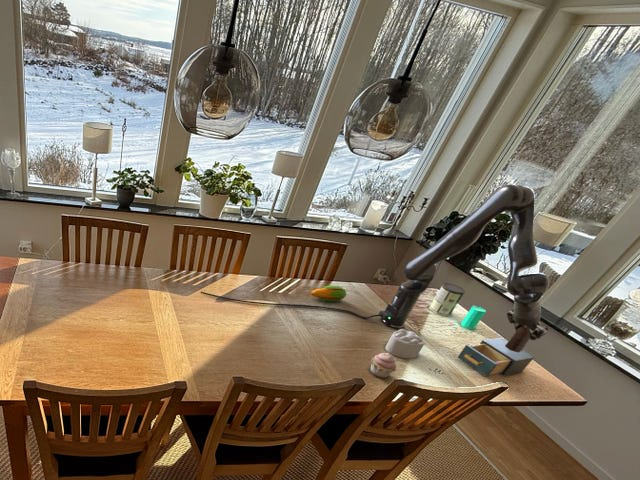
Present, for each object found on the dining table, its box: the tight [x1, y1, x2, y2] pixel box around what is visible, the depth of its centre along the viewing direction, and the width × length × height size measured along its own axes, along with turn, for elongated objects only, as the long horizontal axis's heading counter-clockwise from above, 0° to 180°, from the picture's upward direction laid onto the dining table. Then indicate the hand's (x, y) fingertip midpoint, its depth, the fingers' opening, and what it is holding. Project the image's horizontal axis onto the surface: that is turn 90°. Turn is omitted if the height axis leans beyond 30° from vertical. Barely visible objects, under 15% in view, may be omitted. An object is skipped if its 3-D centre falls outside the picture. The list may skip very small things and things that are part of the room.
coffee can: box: [428, 282, 466, 317], centre depth 207 cm, size 10×10×14 cm
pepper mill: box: [505, 325, 531, 352], centre depth 157 cm, size 5×5×14 cm
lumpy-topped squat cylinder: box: [385, 328, 426, 359], centre depth 171 cm, size 10×13×9 cm
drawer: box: [457, 343, 512, 378], centre depth 168 cm, size 16×13×7 cm
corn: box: [310, 285, 347, 302], centre depth 203 cm, size 7×8×20 cm
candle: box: [460, 305, 487, 331], centre depth 197 cm, size 6×6×12 cm
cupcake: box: [370, 352, 397, 379], centre depth 155 cm, size 9×9×10 cm
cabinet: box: [479, 337, 535, 377], centre depth 172 cm, size 12×14×8 cm
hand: (526, 334), depth 157 cm, fingers closed on pepper mill, 5 cm apart
